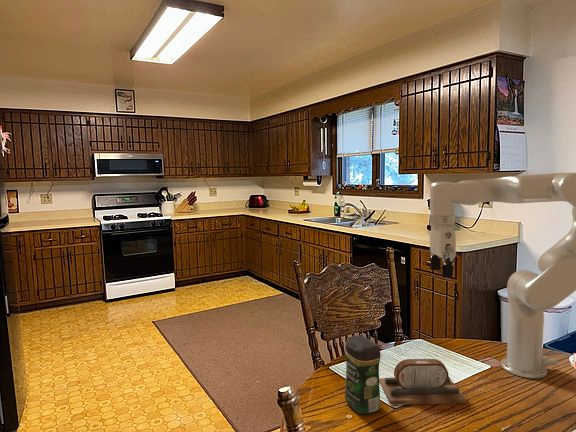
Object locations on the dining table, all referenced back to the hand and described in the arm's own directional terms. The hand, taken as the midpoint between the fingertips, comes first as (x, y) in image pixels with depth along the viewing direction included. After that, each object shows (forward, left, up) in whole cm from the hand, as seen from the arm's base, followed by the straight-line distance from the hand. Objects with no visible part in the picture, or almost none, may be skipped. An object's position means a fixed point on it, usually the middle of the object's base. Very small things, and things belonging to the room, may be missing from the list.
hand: (441, 273), depth 128 cm
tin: (+12, +17, -29) cm, 36 cm away
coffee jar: (+30, +23, -31) cm, 49 cm away
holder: (+12, +17, -30) cm, 37 cm away
